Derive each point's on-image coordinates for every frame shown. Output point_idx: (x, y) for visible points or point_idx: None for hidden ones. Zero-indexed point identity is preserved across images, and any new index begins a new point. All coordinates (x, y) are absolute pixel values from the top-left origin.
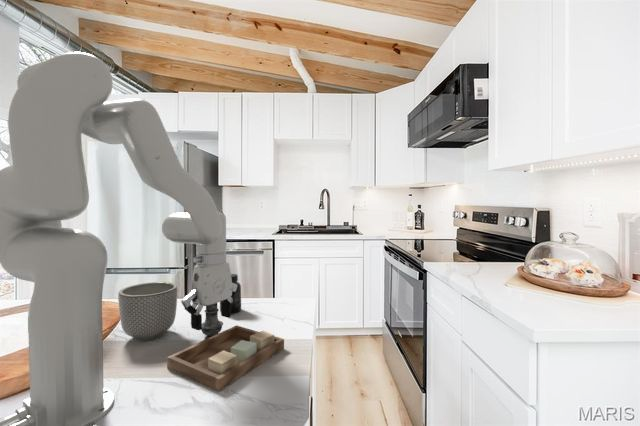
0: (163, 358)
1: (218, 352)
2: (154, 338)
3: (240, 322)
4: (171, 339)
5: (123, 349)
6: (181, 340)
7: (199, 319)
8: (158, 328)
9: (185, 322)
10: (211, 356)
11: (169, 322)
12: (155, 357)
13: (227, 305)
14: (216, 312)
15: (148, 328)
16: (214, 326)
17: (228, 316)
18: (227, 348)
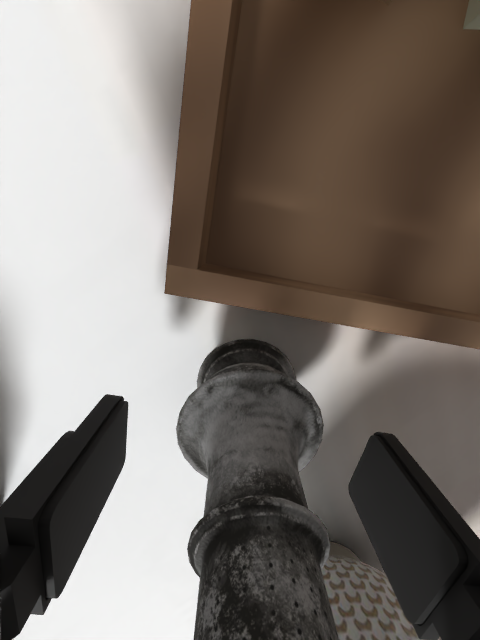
0: (463, 427)
1: (417, 231)
2: (339, 547)
3: (21, 369)
4: (313, 502)
5: None
6: (310, 470)
7: (453, 511)
8: (386, 594)
9: (164, 555)
10: (465, 239)
11: (336, 603)
12: (458, 454)
13: (61, 513)
14: (257, 493)
15: None
16: (287, 397)
17: (123, 406)
18: (364, 211)
